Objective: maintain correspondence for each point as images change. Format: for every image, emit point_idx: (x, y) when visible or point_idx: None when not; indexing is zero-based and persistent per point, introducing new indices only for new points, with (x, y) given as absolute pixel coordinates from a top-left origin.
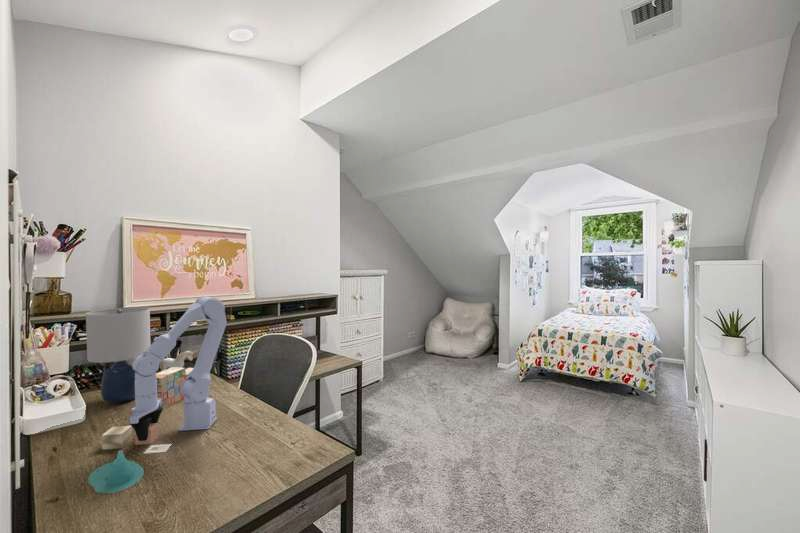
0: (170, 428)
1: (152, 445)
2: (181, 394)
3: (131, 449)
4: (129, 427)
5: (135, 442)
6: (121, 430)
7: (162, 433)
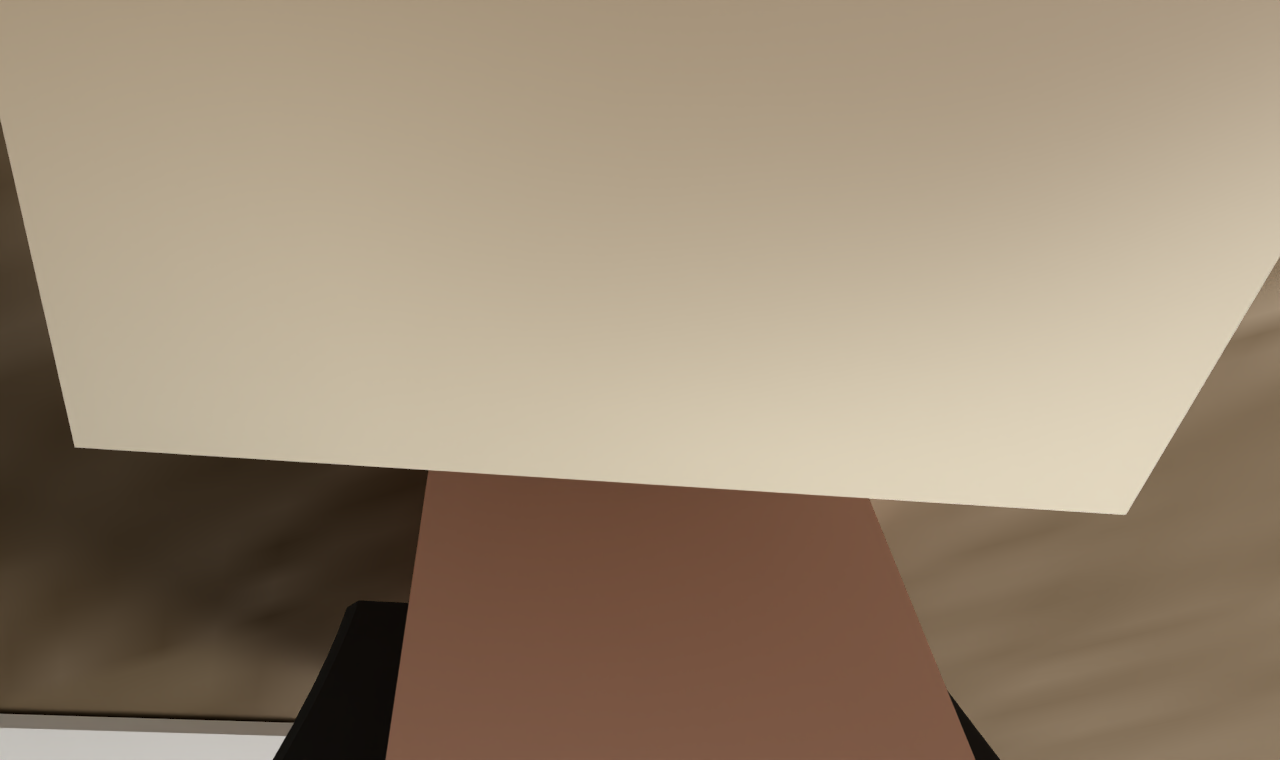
0: (1088, 756)
1: None
2: None
3: None
4: (914, 491)
5: None
6: (611, 242)
7: None
